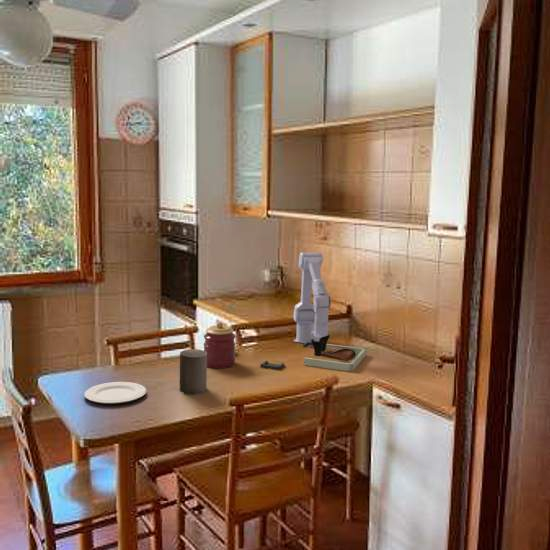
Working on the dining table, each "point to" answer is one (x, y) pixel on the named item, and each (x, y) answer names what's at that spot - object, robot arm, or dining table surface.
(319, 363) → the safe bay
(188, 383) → the pillar candle
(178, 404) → the dining table surface
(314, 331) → the robot arm
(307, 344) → the rear trap pocket
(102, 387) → the plate
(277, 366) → the front trap pocket
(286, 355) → the dining table surface
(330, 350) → the sunglasses case
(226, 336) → the canister
